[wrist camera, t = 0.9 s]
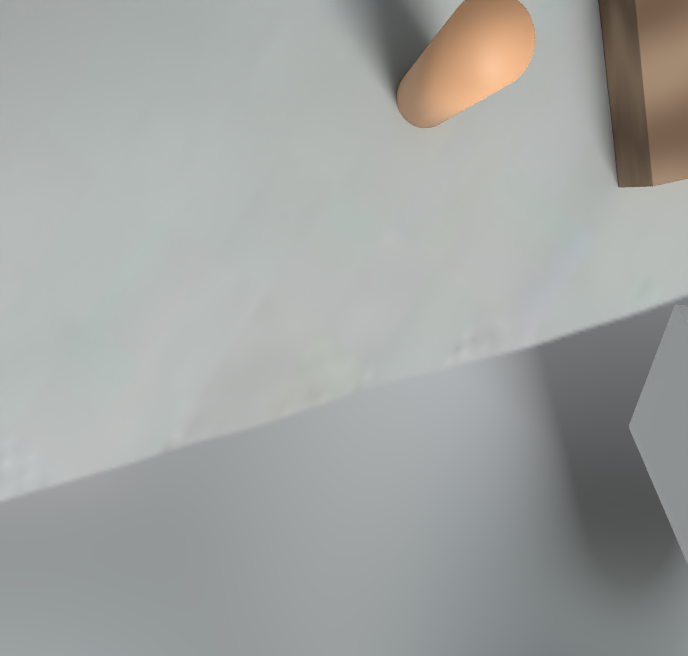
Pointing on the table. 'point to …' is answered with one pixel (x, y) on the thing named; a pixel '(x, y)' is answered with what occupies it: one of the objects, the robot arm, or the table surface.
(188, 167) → the table surface
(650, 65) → the hole block
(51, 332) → the table surface
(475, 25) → the peg
